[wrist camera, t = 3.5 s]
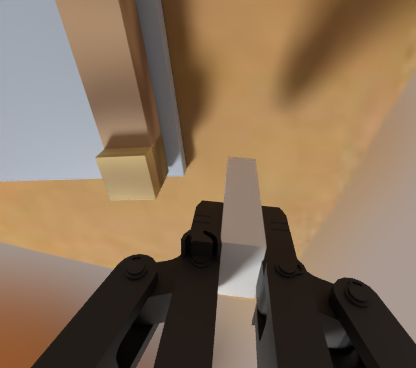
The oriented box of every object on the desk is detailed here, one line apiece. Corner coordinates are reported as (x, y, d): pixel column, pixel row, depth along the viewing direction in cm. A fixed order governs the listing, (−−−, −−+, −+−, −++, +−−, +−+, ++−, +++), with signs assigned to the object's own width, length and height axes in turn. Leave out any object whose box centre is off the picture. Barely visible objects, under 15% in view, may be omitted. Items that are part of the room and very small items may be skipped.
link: (-5, -222, 10) (-112, -332, 7) (110, -253, 9) (48, -389, 6) (119, 173, 19) (97, 200, 16) (180, 170, 19) (169, 199, 15)
